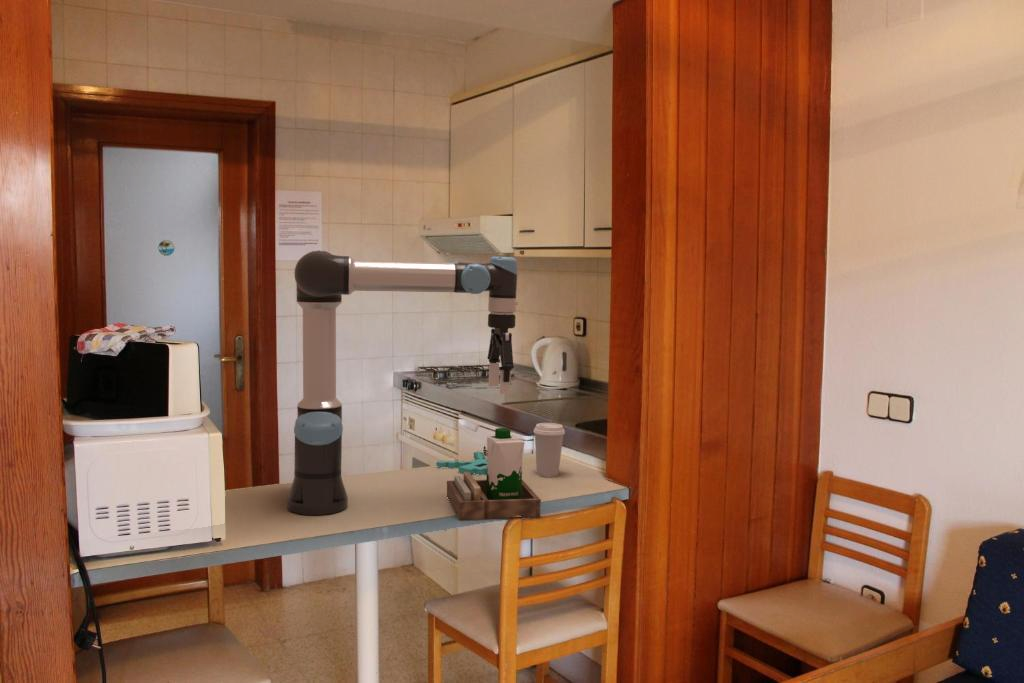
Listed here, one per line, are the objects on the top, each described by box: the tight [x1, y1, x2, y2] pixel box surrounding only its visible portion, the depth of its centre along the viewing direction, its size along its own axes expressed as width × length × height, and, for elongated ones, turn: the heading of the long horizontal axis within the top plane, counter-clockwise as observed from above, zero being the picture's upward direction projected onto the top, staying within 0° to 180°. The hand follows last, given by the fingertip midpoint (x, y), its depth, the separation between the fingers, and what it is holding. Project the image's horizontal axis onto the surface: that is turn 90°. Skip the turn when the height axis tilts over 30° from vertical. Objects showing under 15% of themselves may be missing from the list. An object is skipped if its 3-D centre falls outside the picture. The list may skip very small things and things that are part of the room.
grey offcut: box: [453, 475, 471, 501], centre depth 226 cm, size 2×16×6 cm, turn 13°
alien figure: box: [436, 451, 487, 476], centre depth 269 cm, size 20×2×20 cm
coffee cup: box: [533, 422, 566, 478], centre depth 263 cm, size 10×10×15 cm
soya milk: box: [485, 427, 525, 500], centre depth 228 cm, size 9×9×20 cm
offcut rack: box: [446, 479, 542, 521], centre depth 228 cm, size 21×20×4 cm
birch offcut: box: [462, 472, 481, 501], centre depth 226 cm, size 2×16×8 cm, turn 13°
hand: (499, 389), depth 242 cm, fingers open, 13 cm apart
